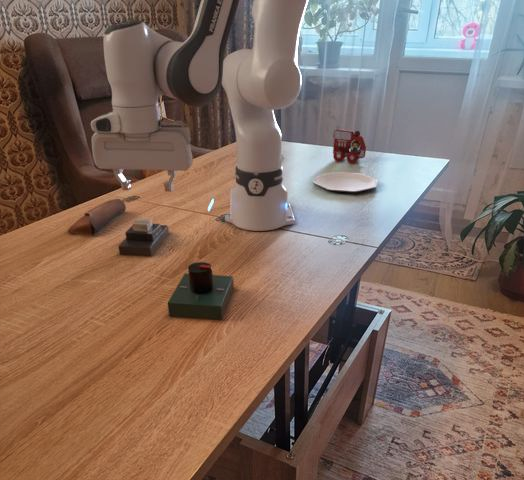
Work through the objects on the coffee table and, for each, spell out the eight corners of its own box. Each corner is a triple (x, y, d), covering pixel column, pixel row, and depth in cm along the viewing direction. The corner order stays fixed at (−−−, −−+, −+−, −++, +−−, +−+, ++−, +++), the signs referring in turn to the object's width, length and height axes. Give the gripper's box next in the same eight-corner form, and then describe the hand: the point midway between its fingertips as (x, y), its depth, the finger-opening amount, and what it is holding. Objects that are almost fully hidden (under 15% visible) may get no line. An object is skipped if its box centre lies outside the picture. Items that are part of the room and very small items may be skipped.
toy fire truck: (361, 164, 174) (365, 133, 168) (328, 161, 179) (331, 130, 173) (366, 160, 180) (369, 130, 174) (334, 156, 184) (336, 127, 178)
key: (138, 226, 116) (137, 218, 115) (153, 227, 116) (151, 218, 115) (133, 232, 114) (132, 223, 112) (148, 232, 113) (146, 224, 112)
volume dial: (187, 293, 91) (184, 269, 88) (194, 282, 94) (192, 259, 91) (209, 295, 90) (207, 271, 87) (215, 284, 93) (214, 261, 91)
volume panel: (186, 286, 99) (184, 272, 97) (233, 289, 98) (233, 275, 96) (169, 316, 89) (167, 301, 88) (222, 320, 88) (221, 305, 87)
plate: (374, 197, 144) (374, 192, 144) (309, 192, 149) (309, 187, 148) (378, 179, 160) (379, 174, 159) (320, 174, 164) (320, 170, 163)
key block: (140, 232, 123) (137, 217, 121) (169, 233, 122) (167, 218, 120) (119, 255, 112) (116, 238, 109) (151, 256, 111) (149, 240, 109)
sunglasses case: (98, 208, 136) (106, 188, 132) (120, 222, 137) (128, 203, 133) (65, 232, 122) (72, 211, 118) (89, 247, 123) (97, 227, 119)
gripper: (192, 117, 97) (198, 187, 105) (95, 116, 99) (108, 184, 107) (185, 124, 91) (192, 196, 100) (82, 122, 93) (97, 193, 102)
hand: (148, 190), depth 103 cm, fingers open, 8 cm apart
